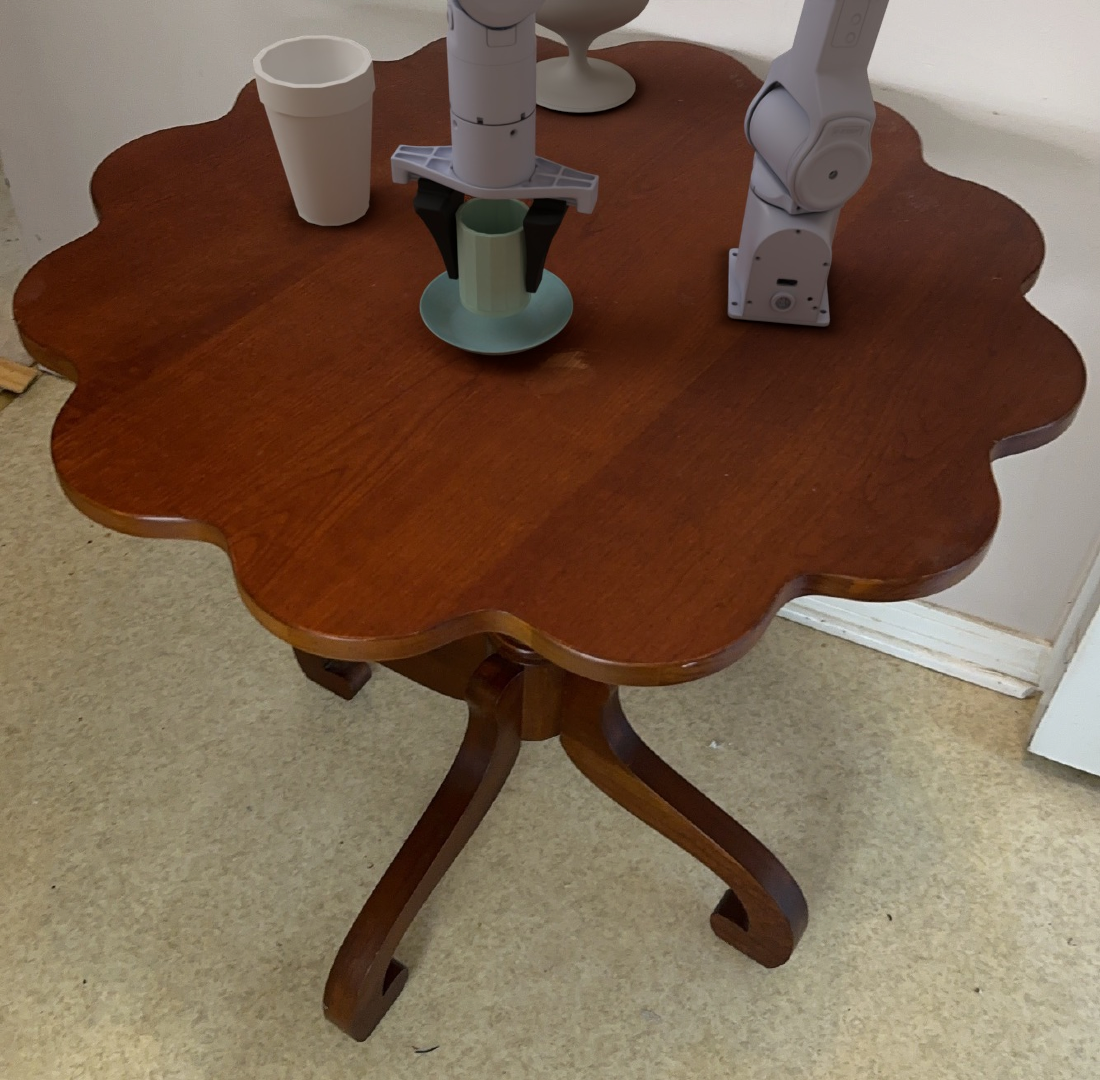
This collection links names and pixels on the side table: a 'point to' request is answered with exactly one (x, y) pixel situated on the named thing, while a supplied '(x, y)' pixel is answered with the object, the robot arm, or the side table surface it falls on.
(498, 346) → the saucer
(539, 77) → the chalice
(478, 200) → the glass
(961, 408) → the side table surface
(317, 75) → the foam cup
